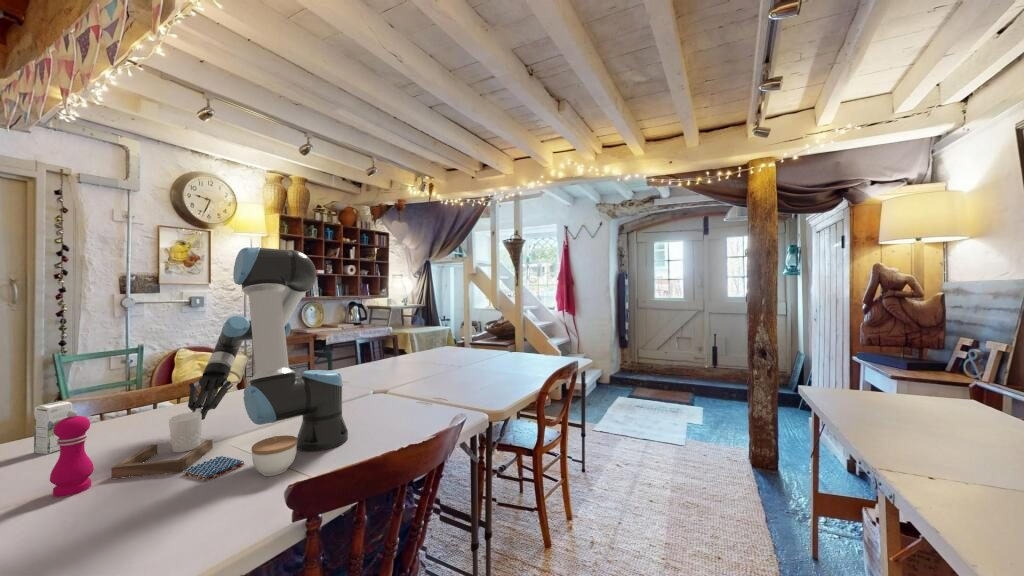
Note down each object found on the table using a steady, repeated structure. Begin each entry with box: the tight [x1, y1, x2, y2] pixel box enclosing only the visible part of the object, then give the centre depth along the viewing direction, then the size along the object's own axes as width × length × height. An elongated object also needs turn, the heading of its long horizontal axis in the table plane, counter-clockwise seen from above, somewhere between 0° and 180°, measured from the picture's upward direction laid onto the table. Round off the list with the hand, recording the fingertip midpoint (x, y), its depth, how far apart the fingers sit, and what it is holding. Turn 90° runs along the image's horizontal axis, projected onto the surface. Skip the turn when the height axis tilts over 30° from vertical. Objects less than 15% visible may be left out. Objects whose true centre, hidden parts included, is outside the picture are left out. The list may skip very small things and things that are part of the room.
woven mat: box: [182, 455, 246, 482], centre depth 105 cm, size 10×11×2 cm
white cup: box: [168, 411, 203, 453], centre depth 120 cm, size 8×8×10 cm
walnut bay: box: [110, 438, 214, 480], centre depth 110 cm, size 16×16×3 cm
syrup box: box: [33, 400, 73, 455], centre depth 119 cm, size 6×6×14 cm
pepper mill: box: [49, 409, 95, 498], centre depth 95 cm, size 7×7×20 cm
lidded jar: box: [251, 435, 298, 477], centre depth 105 cm, size 11×11×9 cm
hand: (192, 428), depth 124 cm, fingers closed
